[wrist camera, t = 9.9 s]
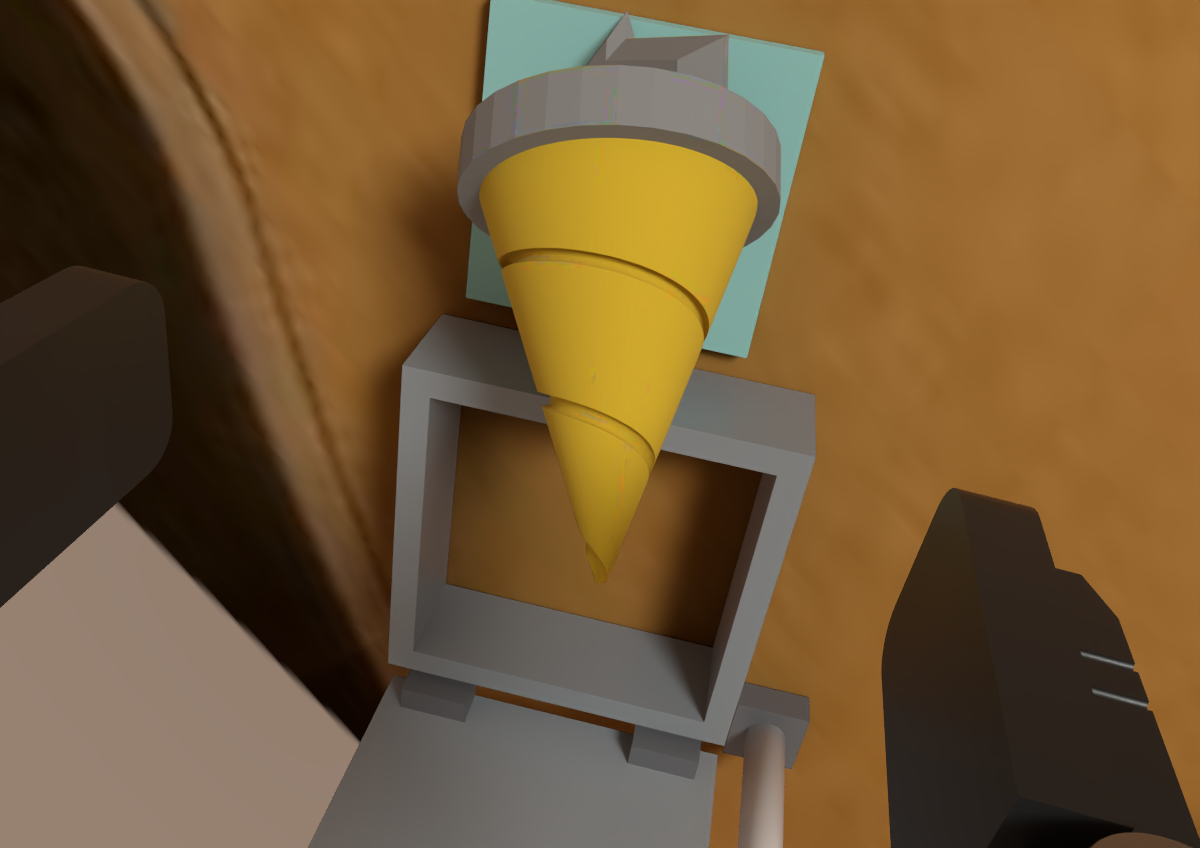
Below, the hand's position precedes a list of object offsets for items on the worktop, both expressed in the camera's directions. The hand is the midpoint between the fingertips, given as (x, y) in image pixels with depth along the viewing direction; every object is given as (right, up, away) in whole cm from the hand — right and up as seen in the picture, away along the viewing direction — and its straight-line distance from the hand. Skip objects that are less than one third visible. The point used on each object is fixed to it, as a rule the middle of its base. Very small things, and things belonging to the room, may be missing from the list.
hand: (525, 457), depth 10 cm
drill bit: (+2, +5, +9) cm, 11 cm away
